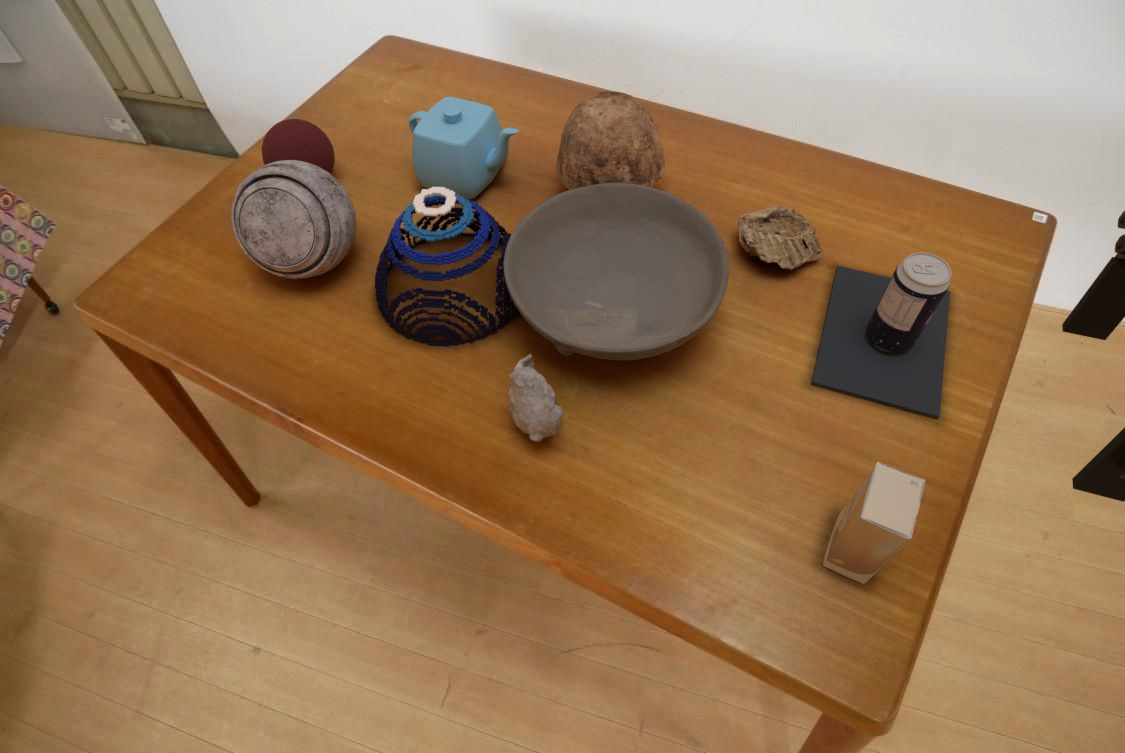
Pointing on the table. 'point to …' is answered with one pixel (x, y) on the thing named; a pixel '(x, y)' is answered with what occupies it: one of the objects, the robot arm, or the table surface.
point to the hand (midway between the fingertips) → (1089, 405)
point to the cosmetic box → (874, 523)
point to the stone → (533, 402)
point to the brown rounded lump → (610, 143)
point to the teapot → (458, 146)
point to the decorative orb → (293, 219)
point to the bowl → (616, 271)
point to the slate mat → (878, 350)
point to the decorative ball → (298, 144)
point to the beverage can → (909, 302)
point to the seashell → (779, 237)
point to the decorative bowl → (399, 248)
